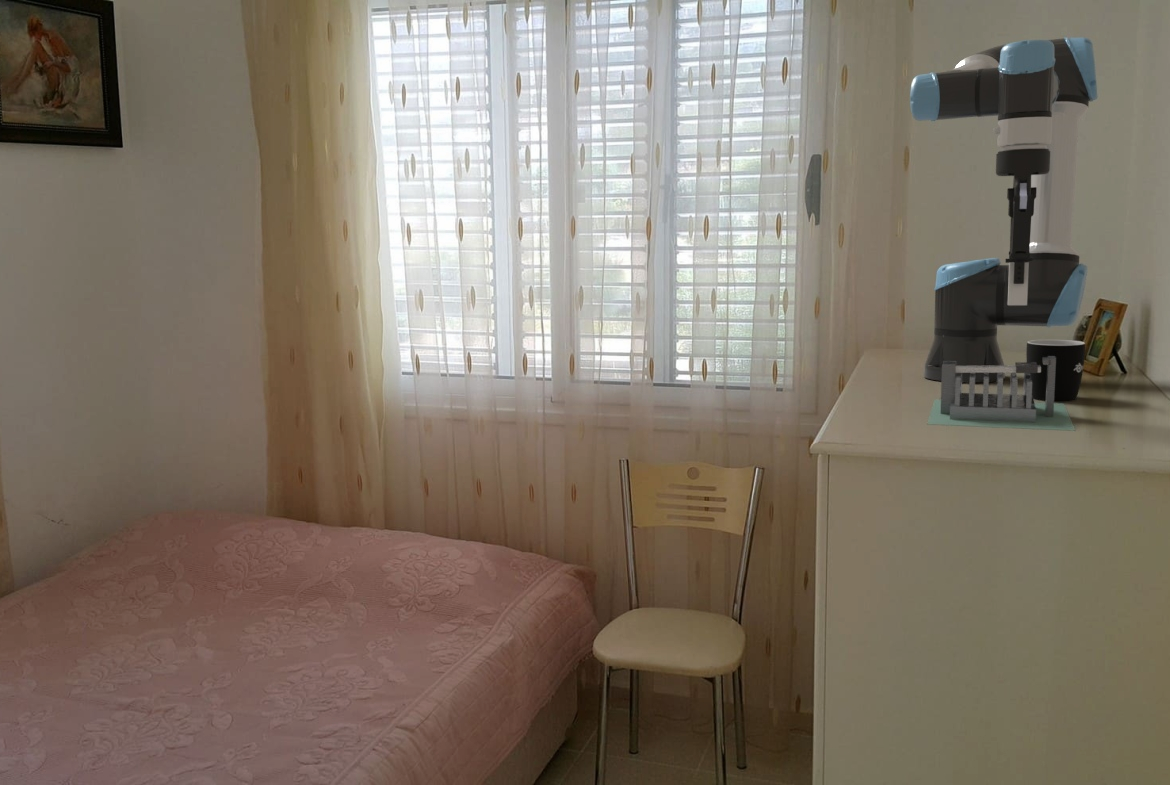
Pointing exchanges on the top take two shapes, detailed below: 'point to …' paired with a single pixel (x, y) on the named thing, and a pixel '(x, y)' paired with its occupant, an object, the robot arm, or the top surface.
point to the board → (1042, 422)
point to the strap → (1002, 368)
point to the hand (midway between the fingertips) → (1017, 304)
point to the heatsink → (994, 396)
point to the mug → (1057, 367)
